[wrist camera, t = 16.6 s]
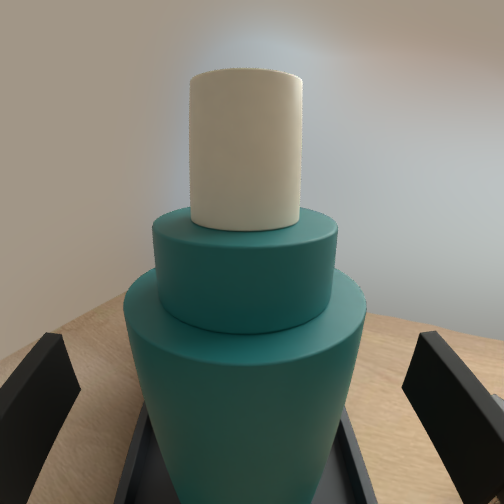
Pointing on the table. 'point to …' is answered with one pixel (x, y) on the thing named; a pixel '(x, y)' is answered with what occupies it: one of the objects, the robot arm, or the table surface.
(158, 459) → the tray
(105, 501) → the table surface
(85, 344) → the table surface
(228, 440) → the bottle
